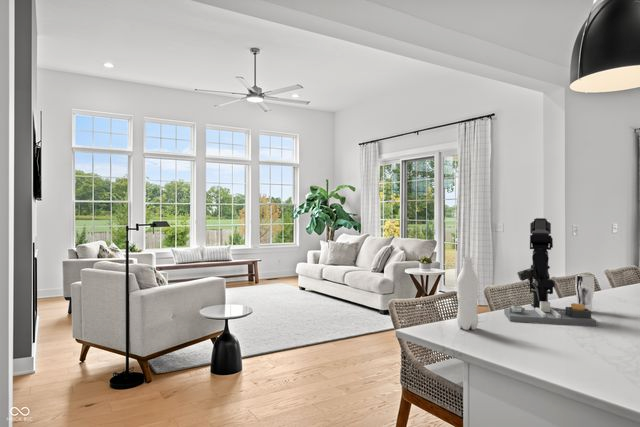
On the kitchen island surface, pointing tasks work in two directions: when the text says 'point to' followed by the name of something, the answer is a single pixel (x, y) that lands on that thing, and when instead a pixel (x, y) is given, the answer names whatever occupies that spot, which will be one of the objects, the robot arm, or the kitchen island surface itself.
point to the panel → (551, 316)
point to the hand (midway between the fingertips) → (540, 301)
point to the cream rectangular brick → (545, 306)
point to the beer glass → (585, 290)
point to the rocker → (516, 307)
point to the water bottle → (467, 296)
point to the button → (578, 307)
